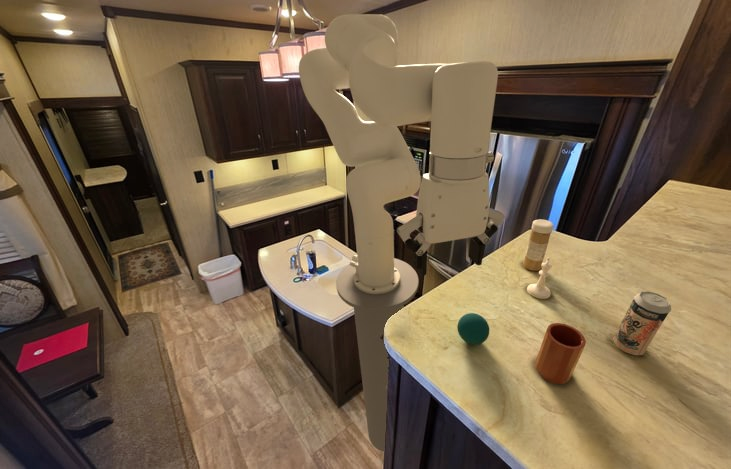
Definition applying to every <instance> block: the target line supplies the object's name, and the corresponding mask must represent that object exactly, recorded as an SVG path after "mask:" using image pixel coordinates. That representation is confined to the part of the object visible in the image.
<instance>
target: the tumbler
mask: <svg viewBox="0 0 731 469" xmlns="http://www.w3.org/2000/svg"><path fill="white" fill-rule="evenodd" d="M586 344H587V340H586V337H585V336H584V335H583V334H582V333H581V331H580V330H578V329H577V328H575V327H573V326H572V325H569V324H566V323H561V322H554V323H550V324H549V325H548V326H547V327H546V330H545V333H544V337H543V339H542V342H541V345H540V347H539V351H538V353H537V356H536V359H535V362H534V365H535V369H536V371H537V373H538V374H539V375H540V377H542V378H543V379H544V380H546V381H548V382H550V383H552V384H556V385H564V384H566V383H568V382H569V381H570V379H571V378H572V376H573V373H574V371H575V369H576V366H577V365H578V362H579V360H580V358H581V356H582V353H583V351H584V349H585V347H586Z"/></svg>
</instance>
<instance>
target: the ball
mask: <svg viewBox="0 0 731 469" xmlns="http://www.w3.org/2000/svg"><path fill="white" fill-rule="evenodd" d="M457 333H458V335H459V337H460V338H461V339H462V341H464V342H465V343H467V344H469V345H474V346H476V345H481V344H483V343H484V342H486V341H487V340H488V338H489V335H490V325H489V323H488V321H487V320H486V318H484V317H483V316H482V315H480V314H479V313H475V312H469V313H466V314H464V315H462V316H461V317H460V318H459V320H458V322H457Z"/></svg>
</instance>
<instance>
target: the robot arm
mask: <svg viewBox="0 0 731 469" xmlns="http://www.w3.org/2000/svg"><path fill="white" fill-rule="evenodd" d="M324 44H325V47H322V48H316V49H311V50H310V51H309V50H308V51H307V52H306V53H305V54H303V55H302V56H301V58H300V60H299V62H298V74H299V75H298V76H299V81H300V84H301V88H302V91H303V93H304V96H305V97H306V99H307V102H308V104H309V105H310V106H311V108H312V109H313V111H314V112H315V113H316V114H317V116H318V117H319V118H320V120H321V121H322V123H323V125H324V127H325V130H326V132H327V134H328V136H329V138H330V141H331V143H332V146H333V148H334V150H335V152H336V154H337V156H338V158H339V160H340V161H341V163H342V164H343V165H344V166H346V167H351V168H352V167H353V169H352V170H350V171H349V172H348V173H347V176H346V179H345V188H346V193H347V196H348V200H349V203H350V207H351V208H350V209H351V212H352V219H353V226H354V228H353V229H354V235H355V237H354V238H355V245H356V246H355V247H356V254H353V255H352V257H351V260H350V262H349V264H350V265H351V266H353V267H355V268H356V273H355V274H354V284H355V286H356V287H357V288H358V289H359V290H361V291H363V292H365V293H368V294H384V293H387V292H390V291H392V290H394V289H395V288H396V287H397V286H398V285H399V283H400V273H399V271H398V270H397V269H396V268H395V267H394V258H395V241H394V240H395V238H394V237H395V236H394V233H395V232H394V221H393V220H394V219H393V217H392V216H391V214H390V212H389V211H387V210H386V208H385V207H384V206H385V205H386V204H389V203H392V202H396V201H400V200H402V199H405V198H409V197H412V196H413V195H415V194H416V193H417V192H418V191H419V192H418V197H417V202H416V203H417V205H416V212H415V215H416V216H414V217H412V218H411V219H410V220H407V221H406V222H404V223H403V224H402V225H400V226H398V227H397V228H396V232H397V234H398V236H399V237H400V238H401V240H402V241H403V242H404V245H405V246H406V248H408V249H409V250H411V251H412V252H413V254H412V255H413V258H412V260H413V261H412V263H413V267H414V270H417V271H418V272H419V274H420V276H422V277H423V276H426V275H427V271H428V269H427V268H428V255H427V253H426V251H428V249H429V248H430V247H431V245H432V244H439V243H445V242H452V241H458V240H465V239H469V238H470V239H469V245H468V254H467V257H468V258H469V259H470V260H471V261H472V262H473V263H474V264H475V265H476V266H482V264H483V258H484V256H485V249H486V245H487V244H489V243H490V242H491V238H492V237H493V236H494V235H495V234H496V232H498V230H499V227H500V225H501V224H502V222H503V221H504V219H505V216H506V215H505V214H504V213H502V212H501V211H500V210H496V209H494V208H492V207H490V179H489V173H488V172H486V170H487V164H489V163H492V162H494V159H495V155H494V153H493V152H489V144H490V138H491V131H492V122H493V116H494V108H495V102H496V94H497V88H498V87H497V86H498V78H499V72H498V67H497V65H496V64H495V63H493V62H491V61H487V60H479V61H464V62H455V63H427V64H425V63H420V64H406V65H405V64H404V65H397V62H398V47H399V33H398V29H397V26H396V24H395V22H394V21H393V20H392V19H391V18H390V17H388V16H386V15H384V14H373V13H371V14H368V13H345V14H340V15H338V16H336V17H334V18H333V19H332V20H331V21H330V22H329V24H328V25H327V26H326V30H325V32H324ZM344 89H345V90H347V89H349V90H350V93H351V96H352V99H353V102H354V104H355V105H356V107H357V108H358V109H359V110H360V111H361V112H362V113H363V114H364V115H365V116H366V117H367V118H368V119H370V120H371V121H365V120H363V119H362V118H361V116H360V115H359V112H358V110H357V108H356V107H355V105H354V104H353V103H352V102H351V101H350V100H349V99H348V98H347V97H346V96H344V95H343V94H341V93H339V92H338V91H337V90H344ZM427 122H430V139H429V140H430V141H429V164H428V173H424V174H423V175H422V177H421V172H420V169H419V166H418V164H417V162H416V160H415V158H414V156H413V154H412V152H411V150H410V148H409V146H408V144H407V142H406V140H405V139H404V136H403V134H402V133H401V131H400V129H399V128H398V127H403V126H407V125H414V124H419V123H427ZM488 220H489V221H488ZM415 231H417V232H418V233H417V235H416V236H415V237H414V238H412V237H411V233H413V232H415ZM354 261H355V262H354ZM356 262H357V263H356Z"/></svg>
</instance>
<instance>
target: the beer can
mask: <svg viewBox="0 0 731 469" xmlns="http://www.w3.org/2000/svg"><path fill="white" fill-rule="evenodd" d="M671 311H672V305H671V302H670V300H669V299H668V298H667V297H665V296H663V295H661V294H659V293H657V292H652V291H650V290H649V291H647V290H646V291H641V292H639V293H637V294H636V295H634V296H633V299H632V301H631V303H630V306H629V307H628V309H627V311H626V312H625V315H624V317H623V319H622V320H621V323H620V324H619V326H618V329H617V330H616V332H615V334H614V336H612V341H613V343H614V345H615V346H616V348H618V349H619V350H621V351H622V352H625V353H627V354H630V355H633V356H642V355H644V354H645V353H646V350H647V349H648V347H649V346H650V344H651V343H652V341H653V339H654V337H655V336H656V335H657V333H658V331H659V330H660V328H661V326H662V325H663V323H664V321H665V320H666V318H667V316H668V315H669V313H671Z"/></svg>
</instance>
